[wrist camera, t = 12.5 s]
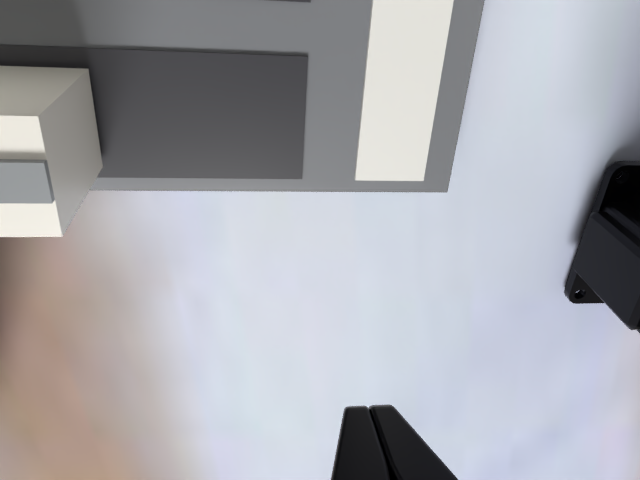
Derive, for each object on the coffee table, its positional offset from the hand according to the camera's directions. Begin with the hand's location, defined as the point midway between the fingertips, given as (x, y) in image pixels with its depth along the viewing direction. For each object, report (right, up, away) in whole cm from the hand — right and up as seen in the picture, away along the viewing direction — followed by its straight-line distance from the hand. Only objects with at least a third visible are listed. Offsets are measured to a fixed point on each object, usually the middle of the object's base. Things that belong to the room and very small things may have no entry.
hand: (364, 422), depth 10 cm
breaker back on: (-9, +7, +7) cm, 13 cm away
